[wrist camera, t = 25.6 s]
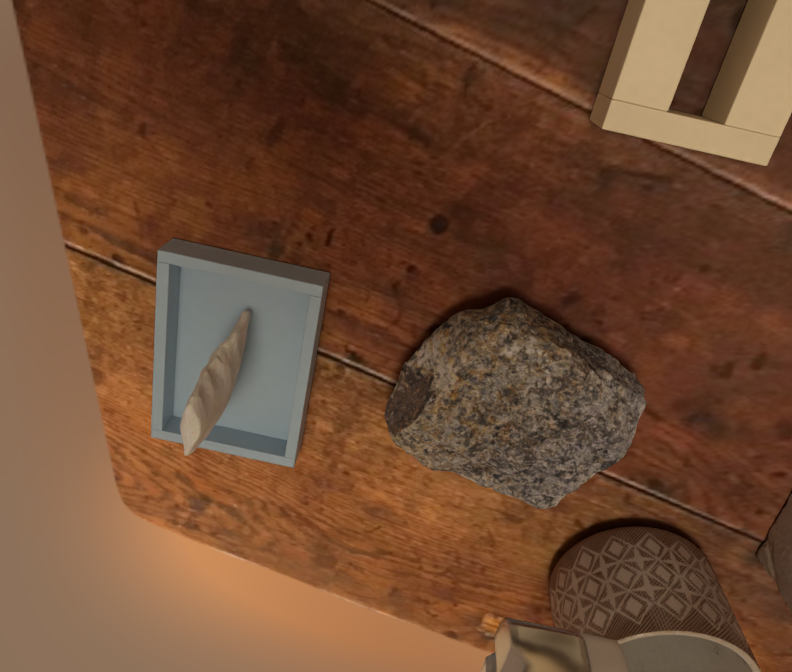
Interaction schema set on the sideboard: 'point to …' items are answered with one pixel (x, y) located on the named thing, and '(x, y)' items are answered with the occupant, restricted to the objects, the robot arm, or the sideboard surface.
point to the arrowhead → (214, 387)
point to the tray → (263, 354)
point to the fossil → (780, 553)
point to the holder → (733, 89)
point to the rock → (514, 404)
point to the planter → (649, 602)
